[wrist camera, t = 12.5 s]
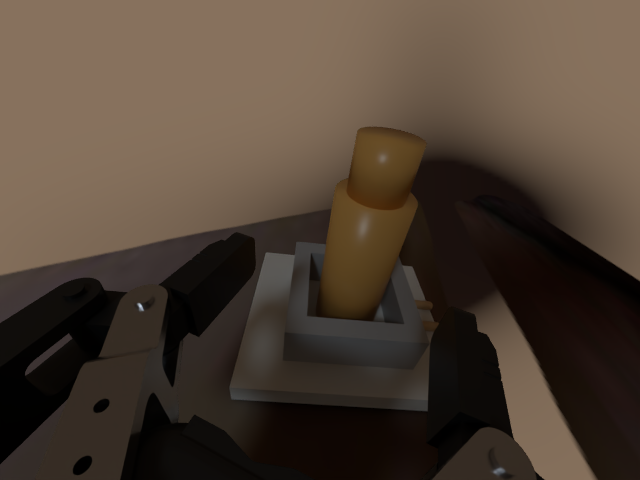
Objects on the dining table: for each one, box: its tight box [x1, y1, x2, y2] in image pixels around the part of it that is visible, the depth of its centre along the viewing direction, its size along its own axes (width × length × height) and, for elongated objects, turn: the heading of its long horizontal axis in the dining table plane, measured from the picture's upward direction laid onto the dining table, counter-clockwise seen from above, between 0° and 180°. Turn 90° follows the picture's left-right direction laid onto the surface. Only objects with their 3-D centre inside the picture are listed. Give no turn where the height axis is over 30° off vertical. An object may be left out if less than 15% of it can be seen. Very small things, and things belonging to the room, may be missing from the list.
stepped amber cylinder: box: [316, 127, 426, 322], centre depth 16 cm, size 4×4×13 cm
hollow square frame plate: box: [229, 242, 439, 411], centre depth 20 cm, size 14×12×4 cm
